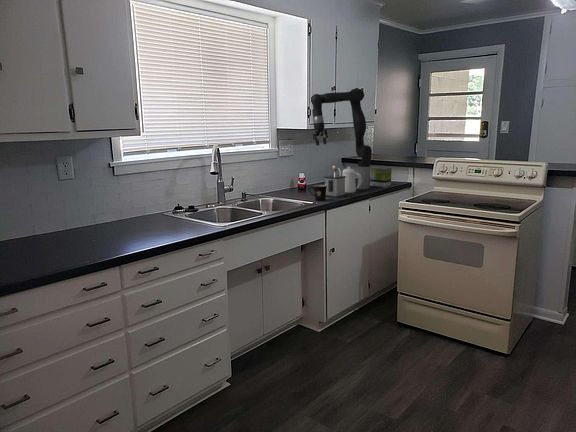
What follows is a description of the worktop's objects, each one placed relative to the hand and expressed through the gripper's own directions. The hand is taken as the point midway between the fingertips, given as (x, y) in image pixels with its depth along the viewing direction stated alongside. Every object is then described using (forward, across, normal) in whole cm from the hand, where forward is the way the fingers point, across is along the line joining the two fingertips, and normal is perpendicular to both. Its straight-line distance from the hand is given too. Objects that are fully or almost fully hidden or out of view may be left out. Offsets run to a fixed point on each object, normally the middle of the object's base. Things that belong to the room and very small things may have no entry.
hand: (321, 144), depth 321 cm
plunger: (+34, -11, -15) cm, 39 cm away
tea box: (+40, +49, -15) cm, 65 cm away
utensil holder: (+36, -12, -15) cm, 41 cm away
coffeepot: (+37, +9, -12) cm, 40 cm away
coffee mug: (+35, -30, -16) cm, 49 cm away
